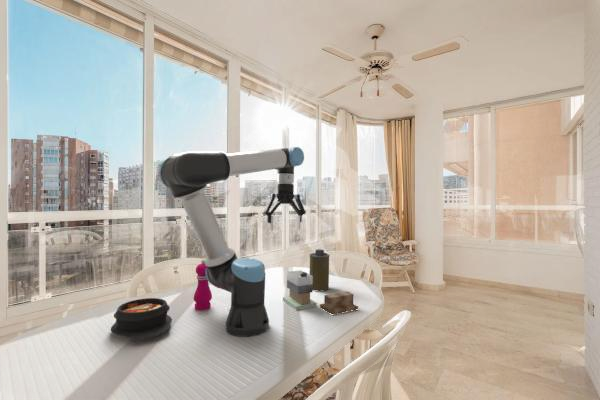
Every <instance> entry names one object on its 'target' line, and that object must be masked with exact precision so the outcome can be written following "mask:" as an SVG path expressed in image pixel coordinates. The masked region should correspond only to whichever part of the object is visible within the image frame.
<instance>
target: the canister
mask: <svg viewBox="0 0 600 400" xmlns="http://www.w3.org/2000/svg"><path fill="white" fill-rule="evenodd" d="M309 274H310V275H312V276H313V290H318V291H317V292H322V291H321V290H326V291H328V290H329V289H330V284H329V283H330V254H328V253H327V252H325V250H324V249H321V248H318V249H315V252H313V253H310V254H309ZM328 288H329V289H328ZM327 289H328V290H327Z"/></svg>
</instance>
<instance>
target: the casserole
mask: <svg viewBox="0 0 600 400" xmlns="http://www.w3.org/2000/svg"><path fill="white" fill-rule="evenodd" d="M170 307H171V306H169V305H168V302H167V301H166V300H165V299H162V298H155V297H153V298H152V297H150V298H149V297H148V298H140V299H134V300H130V301H128V302H125V303H122V304H120V305H119V306H118V307H117V310H116V311H115V313H114V314H113V318H115V323H113V325H112V326H111V327H110V332H111V333H112V334H114V335H117V336H122V337H125V338H128V339H131V340H136V341H137V340H143V339H149V338H153V337H156V336H159V335H162V334H164V333H167V332H168V331H169V330H170V329H171V323H172V321H173V319H172V317H171V316H170V315H168V312H169V310H170V309H171V308H170Z"/></svg>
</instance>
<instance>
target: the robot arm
mask: <svg viewBox="0 0 600 400" xmlns="http://www.w3.org/2000/svg"><path fill="white" fill-rule="evenodd" d="M304 161H305V153H304V151H303V149H302V148H301V147H299V146H291V147H286V148H276V149H275V148H274V149H260V150H253V151H242V152H233V153H232V152H231V153H226V152H224V151H222V150H219V151H217V150H216V151H201V150H200V151H199V150H197V151H196V150H195V151H194V150H192V151H191V150H190V151H186V152H180V153H175V154H171V155H170V156H167V157H166V158H165V159H163V160H162V162H161V164H160V165H159V167H158V168H159V169H158V175H159V176H158V177H159V179H160V182H162V184H163V185H164V186H165V187H167V188H169V190H170V191H171V194H172V196H173V198H174V199H176V200H178V201H180V202H181V204H182V206H183V209H184V211H185V213H186V215H187V218H188V220H189V221H190V222H189V223H190V224H191V226H192V228H193V230H194V233H195V235H196V237H197V239H198V241H199V243H200V245H201V248H202V250H203V252H204V254H205V256H206V260H205V265H206V267H207V269H206V277H207V279H208V283H210V284H211V285H212V286H214V287H215V288H218V289H221V290H223V291H226V292H229V293H230V294H231V296H230V308H229V312H228V315H227V317H226V320H225V331H226V332H227V333H228V334H230V335H232V336H237V337H252V336H257V335H261V334H264V333H265V332H267V330H268V329H269V327H270V319H269V316H268V312H267V309H266V305H265V297H266V296H265V292H266V291H265V290H266V266H265V264H264V263H263V262H262V261H261V260H259V259H255V258H248V257H247V258H246V257H242V258H241V257H240V258H238V256H237V254H236V252H235V250H234V249H233V248H230V247H229V245H228V243H227V241H226V239H225V236H224V234H223V232H222V229H221V227H220V225H219V222H218V220H217V217H216V214H215V213H214V210H213V207H212V206H211V203H210V201H209V199H208V196H207V194H206V192H205V191H206V189H207V187H208V186H207V185H210V184H214V183H216V182H217V183H218V182H222V181H227V180H228V179H229V177H235V176H238V175H239V176H240V175H247V174H251V173H259V172H264V171H265V172H266V171H271V170H276V171H277V183H278V184H277V193H270V197H269V200H268V201H267V204H266V206H265V208H264V210H263V214H264V215H266V216H267V223H268V231H271V232H272V231H274V215H273V214H274V212H275V211H276V210H277V209H278V207H279V206H281V204H282V205H285V204H286V205H287V204H288V205H290V206H291V207H292V209H293V210H294V212H295V213H296V214H297V215H296V217H295V230H298V231H300V230H301V223H302V222H303V215H305V214H306V210H305V207H304V206H303V202H302V200H301V196H300V194H298V193H297V194H294V190H295V189H294V185H295V184H294V181H295V167H299V166H301V165H302V164H303V163H304ZM275 199H277V200H276V201H275ZM294 199H295V201H294ZM274 202H275V203H274ZM295 202H296V203H295ZM273 203H274V204H273ZM296 204H297V205H296Z"/></svg>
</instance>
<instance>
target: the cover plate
mask: <svg viewBox="0 0 600 400" xmlns="http://www.w3.org/2000/svg"><path fill="white" fill-rule="evenodd" d="M287 280H289V281H290V282H292V283H294V284H295V285H297V286H302V285H310V284H313V276H312V275H310V273H308V272H306V271H303V270H293V271H287V272H286V281H287Z"/></svg>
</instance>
